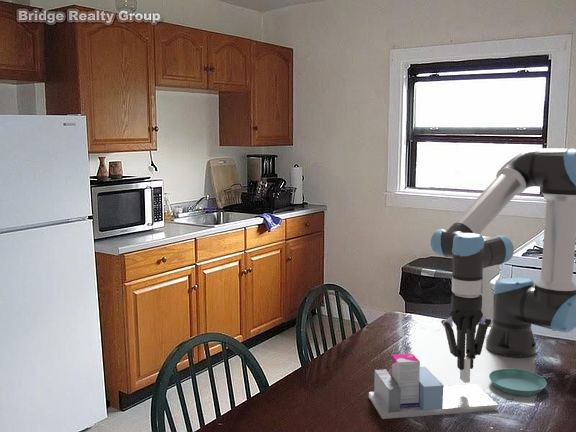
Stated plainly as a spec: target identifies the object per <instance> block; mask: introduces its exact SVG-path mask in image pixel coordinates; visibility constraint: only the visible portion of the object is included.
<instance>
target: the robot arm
mask: <svg viewBox="0 0 576 432" xmlns="http://www.w3.org/2000/svg"><path fill="white" fill-rule="evenodd" d="M531 187H541V195H542V196H543V197H544V198H545V199H546V205H545V217H544V218H545V219H544V229H543V230H544V231H543V241H542V242H543V245H542V255H541V256H542V257H541V259H542V260H541V272H540V278H539V279H538V280H536V281H534V279H532V278H526V277H525V278H524V277H507V278H502V279H498V280H496V281H495V284H494V287H493V293H492V295H493V306H492V307H493V308H492V319H490V318H488V317H487V316H484V313H483V312H482V309H483V295H482V294H483V283H484V282H483V281H484V280H483V279H484V278H483V277H484V276H483V273H484V272H483V271H484V269H485V268H488V267H489V268H490V267H493V266H497V265H498V266H500V265H502V264H504V263H506V262H509V261H510V260H511V259H512V258H513V256H514V252H515V250H514V248H515V247H514V244H513V242H512V240H511V239H510V238H509V237H507V236H505V235H503V234H502V235H500V234H499V235H495V234H494V235H492V236H488V235H487V236H486V235H482V233H483V231H484V230H485V229H486V228H487V227H488V226H489V225H490V224H491V222H493V221H494V220H495V218H496V217H497V216H498V215H499V214H500V213H501V211H502V210H503V209H504V208H505V207H507V205H508V204H509V203H510V202H511V201H512V200H513V198H515V196H516V195H517V194H518V195H519V194H522V193H524V192H525V190H526V189H528V188H531ZM430 248H431V250H432V252H433V253H435V254H436V255H439V256H441V257H442V256H443V257H445V258H451V259H452V274H451V292H452V293H451V312H450V313H449V317H448V318H446V319H442V320H441V322H440V323H441V324H442V326H443V328H444V331H445V335H446V338H447V343H448V348H449V353H450V354H451V355H452V356H454V358H457V360H456V361H457V362H456V364H457V365H456V366H457V369H459V379H460V380H461V381H462V382H463V383H464V384H466V383H467V384H469V383H470V382H471V370H473V369H474V360H475V359H476V356H480V355H481V353H482V351H483V347H484V342H485V347H486V349H487V350H488V351H490V352H492V353H494V354H497V355H499V356H504V357H508V358H509V357H510V358H528V357H533V356H534V355H536V353H537V344H536V339H535V336H534V333H533V329H532V325H534V326H537V327H541V328H544V329H547V330H551V331H553V332H560V333H571V332H572V331H574V330H575V329H576V284H575V283H574V282H573V278H574V277H573V275H574V265H575V252H576V148H573V147H568V148H567V147H566V148H565V147H564V148H561V147H560V148H559V147H558V148H557V147H555V148H553V147H552V148H551V147H548V148H547V147H545V148H544V147H536V148H535V147H534V148H531V149H527V150H525V151H523V152H520V153H519V154H517V155H516V156H514V157H513V158H511V159H509V161H507V162H506V163H505V164H504V165H503V166H501V167H500V169H499V170H498V171H497V172H496V177H495V179H494V180H493V181H492V182H491V183H490V184H489V185H488V186H487V187H486V189H484V190H483V192H482V193H481V194H480V195H479V196H477V198H476V199H475V200H474V201H473V202H472V203H471V205H470V206H469V207H468V208H466V209H465V210H464V212H463V213H462V214H461V215H460V216H459V217H458V218H457V219H456V220H455V221H454V223H453V224H452V225H450V226H449V228H448V229H446V228H440V229H436V230H435V231H434V232H433V233H432V236H431V238H430ZM453 323H454V324H453ZM491 323H492V325H491ZM454 325H455V328H456V337H455V332H454V328H453V327H454ZM490 325H491V327H490V329H489V332H488V335H486V334H487V330H488V328H489V326H490ZM477 326H478V327H477ZM486 336H487V337H486ZM485 339H486V341H485Z"/></svg>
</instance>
